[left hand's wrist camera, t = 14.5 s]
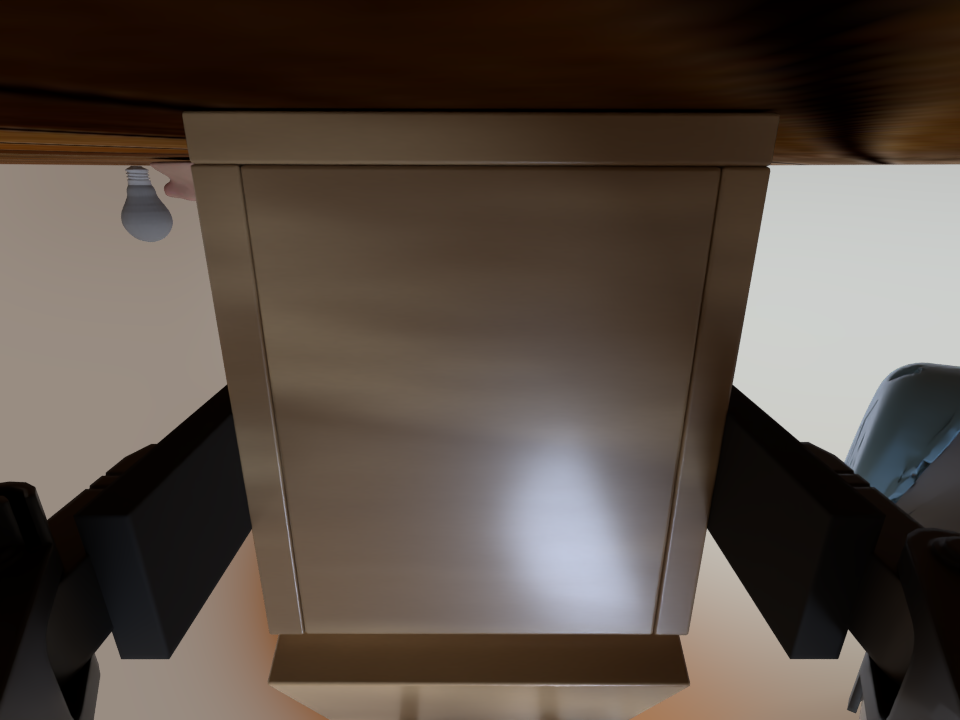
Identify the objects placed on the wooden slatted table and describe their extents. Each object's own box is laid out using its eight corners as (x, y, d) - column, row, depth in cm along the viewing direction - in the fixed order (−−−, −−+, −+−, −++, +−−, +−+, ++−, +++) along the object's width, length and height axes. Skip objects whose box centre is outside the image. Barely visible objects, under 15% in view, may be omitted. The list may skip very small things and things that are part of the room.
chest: (602, 155, 20) (583, 407, 24) (358, 154, 20) (375, 406, 24) (782, 112, 8) (689, 636, 12) (179, 109, 8) (269, 635, 12)
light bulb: (149, 165, 66) (165, 244, 70) (169, 166, 72) (183, 238, 75) (99, 165, 65) (118, 244, 69) (123, 166, 71) (139, 239, 74)
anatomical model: (150, 220, 36) (318, 215, 41) (138, 160, 35) (312, 162, 39) (170, 208, 48) (299, 206, 52) (161, 163, 46) (294, 164, 51)
